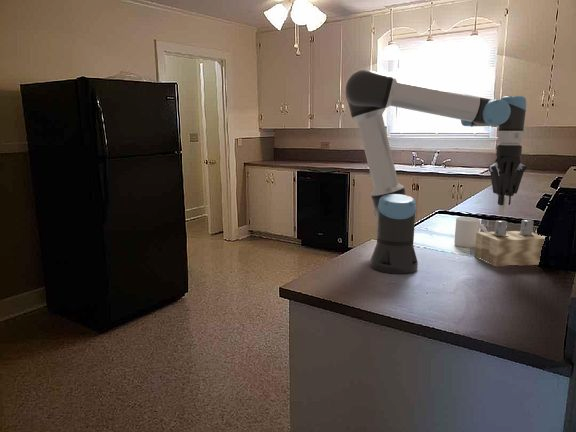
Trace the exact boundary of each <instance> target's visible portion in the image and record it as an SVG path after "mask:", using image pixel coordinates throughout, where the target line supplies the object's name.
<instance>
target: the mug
mask: <svg viewBox="0 0 576 432" xmlns="http://www.w3.org/2000/svg"><path fill="white" fill-rule="evenodd" d="M454 229H455V230H454V231H455V232H454V241H453V243H454V245H455V246H457V247H460V248H466V249H472V248H474V249H475V243H476V233H477V232H480V230H483V232H488V229H487V228H486V226H484V224H482V223H481V219H480V218H477V217H470V216H458V217H456V218H455V228H454Z"/></svg>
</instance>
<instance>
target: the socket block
mask: <svg viewBox="0 0 576 432" xmlns="http://www.w3.org/2000/svg"><path fill="white" fill-rule="evenodd" d="M494 232H495V231H487V232H485V231H479V232H477V233H476V243H475V247H474V254H473V255H474V258H476V257H478V258H481V259H483V260H485V261H487V262H489V263H491V264H492V265H491V264H490V265H491V266H493V265H494V266H493V267H495V266H496V267H503V266H502V265H516V264H521V265H520V266H539V262H540V256H541V250H542V246H543V244H544V241H545V237H546V236H545V235H542V234H539V233H535V232H533V231H532V236H526V237H525V236H522V235H520V232H521V230H506V237H496V236H494ZM538 234H539V235H538ZM541 235H542V236H541ZM478 258H477V259H478ZM485 261H484V262H485ZM487 262H486V263H487ZM489 263H488V264H489Z"/></svg>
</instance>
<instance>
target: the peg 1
mask: <svg viewBox="0 0 576 432" xmlns="http://www.w3.org/2000/svg"><path fill="white" fill-rule="evenodd" d="M507 228H508V221H506V220H495V223H494V231H493V232H494V236H496V237H506V231H507Z"/></svg>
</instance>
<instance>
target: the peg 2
mask: <svg viewBox="0 0 576 432" xmlns="http://www.w3.org/2000/svg"><path fill="white" fill-rule="evenodd" d="M534 223H535V222H534V220H531V219H522V220H521V223H520V231H521V232H520V235H522V236H525V237H526V236H532V232H533V230H534V229H533V228H534Z"/></svg>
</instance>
